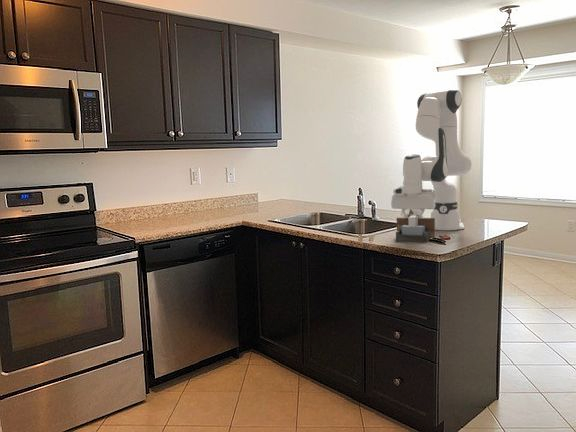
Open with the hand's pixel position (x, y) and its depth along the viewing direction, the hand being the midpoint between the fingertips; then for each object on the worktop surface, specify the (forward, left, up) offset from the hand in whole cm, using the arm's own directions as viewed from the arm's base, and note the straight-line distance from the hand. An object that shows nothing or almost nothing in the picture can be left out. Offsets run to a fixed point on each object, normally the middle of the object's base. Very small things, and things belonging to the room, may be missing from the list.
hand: (413, 218), depth 223 cm
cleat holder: (0, 0, -11) cm, 11 cm away
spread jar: (-69, -18, -11) cm, 72 cm away
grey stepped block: (0, 0, -11) cm, 11 cm away
